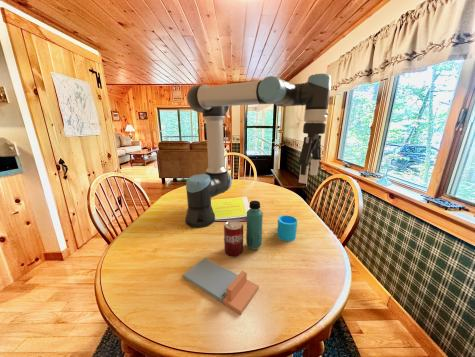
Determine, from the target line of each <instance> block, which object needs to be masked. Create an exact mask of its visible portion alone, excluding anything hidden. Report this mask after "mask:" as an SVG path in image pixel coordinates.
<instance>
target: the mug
mask: <svg viewBox="0 0 475 357" xmlns="http://www.w3.org/2000/svg"><path fill="white" fill-rule="evenodd" d="M297 228H298V219H297V218H296V217H294V216H292V215H286V214H285V215H280V216H278V218H277V229H276V230H277V231H276V232H277V234H276V236H277V238H278V239H279V240H282V241H284V242H292V241H295V240H296V238H297Z"/></svg>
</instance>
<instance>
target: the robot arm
mask: <svg viewBox="0 0 475 357" xmlns="http://www.w3.org/2000/svg"><path fill="white" fill-rule="evenodd" d="M306 81H307V82H303V83H292V82H289V81H286V80H284V79H282V78H280V77H279V76H273V75H269V76H267V77H264V78H263V79H261V80H254V81H251V80H250V81H244V82H237V83H228V84H220V85H213V86H212V85H211V86H209V85H208V84H196V85H193V86H191V87H190V88H189V89H188V90H187V93H186V102H187V103H188V104H187V105H188V107H189V108H190V109H192V110H193V111H194V112H196V113H199V114H200V113H202V118H203V120H205V128H206V146H207V165H208V167H207V168H206V170H205V173H198V174H194V175H191V176H189V177H188V178H187V180H186V182H185V185H186V186H185V190H186V200H187V211H186V214H185V217H184V218H185V219H184V220H185V221H184V222H185V224H186V225H187V226H188V227H191V228H205V227H208V226H210V225H212V224H213V223H215V221H216V215H215V214H216V213H215V212H214V209H213V207H212V198H214V197H216V196H219V195H221V194H224V193H225V192H226V191H228V190H230V188H231V186H232V181H233V180H232V176H231V175H230V173H229V172H228V168H227V167H225V146H224V144H225V142H224V140H225V139H224V120H225V119H226V118H227V113H228V112H229V110H230V107H233V106H235V107H236V106H251V105H253V106H254V105H275V106H276V107H283V108H286V107H295V106H296V107H298V106H305V109H304V116H303V121H304V123H303V127H302V128H303V129H302V133H303V134H307V136H305V137H303V142H302V143H303V144H302V146H301V147H302V148H301V151H300V155H299V159H298V162H297V166H300V167H299V177H298V183H300V184H306V185H307V184H308V175H309V176H318V172H319V171H318V170H319V162H320V161H321V160H322V157H321V156H322V155H321V154H322V151H321V150H322V148H321V147H322V146H321V145H322V144H321V142H322V141H321V140H322V135H324V134H325V133H326V125H327V124H326V121H327V118H328V116H329V114H330V113H329V112H328V108H329V102H330V95H331V90H332V89H331V85H332V76H331V75H330V74H329V73H315V74H311V75H309V76H308V79H307V80H306ZM311 157H312V159H311ZM310 159H311V162H310ZM319 160H320V161H319ZM309 163H310V170H309Z"/></svg>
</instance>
